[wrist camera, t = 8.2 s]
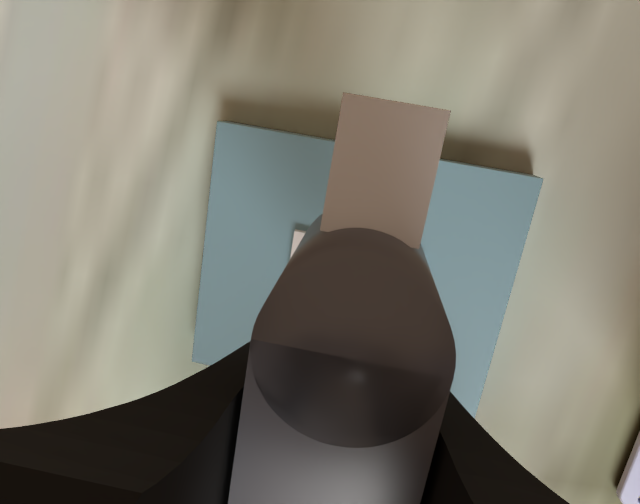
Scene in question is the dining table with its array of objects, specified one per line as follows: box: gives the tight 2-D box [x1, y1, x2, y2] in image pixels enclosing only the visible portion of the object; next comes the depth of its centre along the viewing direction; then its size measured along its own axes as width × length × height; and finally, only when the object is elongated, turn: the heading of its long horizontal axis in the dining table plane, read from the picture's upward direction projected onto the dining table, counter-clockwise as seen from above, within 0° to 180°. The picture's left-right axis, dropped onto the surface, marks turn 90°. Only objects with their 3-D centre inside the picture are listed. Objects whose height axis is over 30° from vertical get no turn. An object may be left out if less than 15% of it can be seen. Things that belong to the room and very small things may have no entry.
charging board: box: [192, 121, 543, 418], centre depth 20 cm, size 12×10×2 cm
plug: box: [228, 92, 456, 504], centre depth 10 cm, size 3×10×5 cm, turn 170°
